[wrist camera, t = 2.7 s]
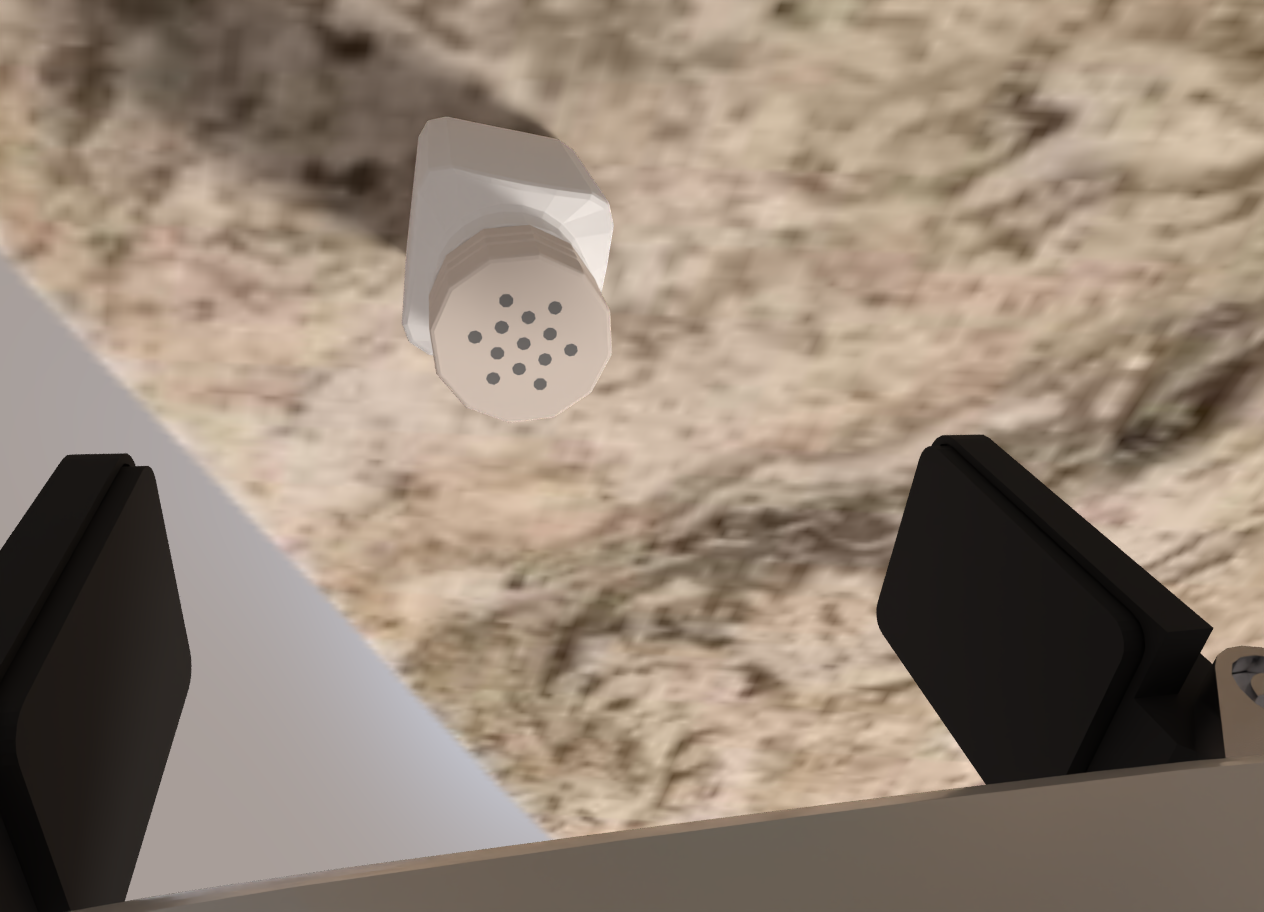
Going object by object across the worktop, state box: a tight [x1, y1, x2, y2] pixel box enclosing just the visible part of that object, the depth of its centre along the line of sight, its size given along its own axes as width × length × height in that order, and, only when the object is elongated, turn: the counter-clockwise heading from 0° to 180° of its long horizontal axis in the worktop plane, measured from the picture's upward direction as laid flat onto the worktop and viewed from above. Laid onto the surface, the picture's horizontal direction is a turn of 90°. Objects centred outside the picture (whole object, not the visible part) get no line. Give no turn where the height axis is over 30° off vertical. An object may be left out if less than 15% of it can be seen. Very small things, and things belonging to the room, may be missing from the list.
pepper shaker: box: [402, 116, 614, 423], centre depth 19 cm, size 4×4×10 cm
